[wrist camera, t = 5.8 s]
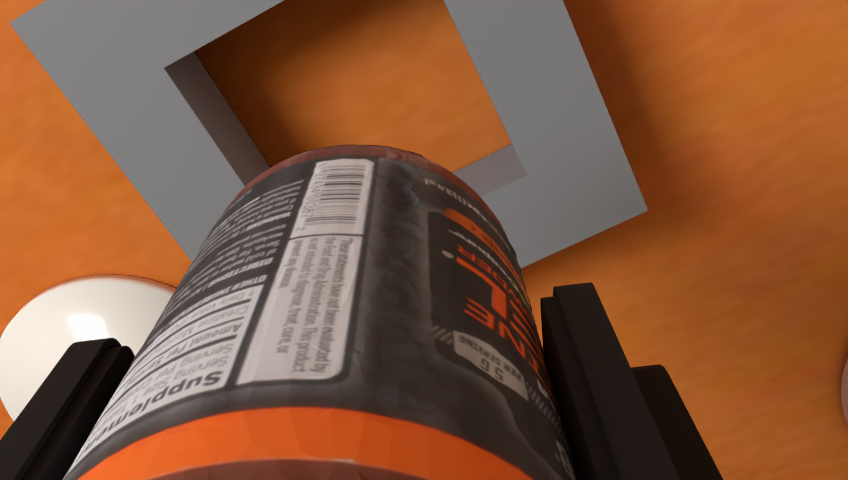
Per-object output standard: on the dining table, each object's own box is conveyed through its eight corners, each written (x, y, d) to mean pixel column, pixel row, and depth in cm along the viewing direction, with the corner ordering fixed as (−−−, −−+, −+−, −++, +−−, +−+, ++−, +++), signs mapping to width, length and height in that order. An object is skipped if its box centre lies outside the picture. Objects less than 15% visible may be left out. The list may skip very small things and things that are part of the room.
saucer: (301, 418, 31) (299, 427, 30) (109, 502, 32) (104, 512, 32) (157, 232, 26) (151, 239, 26) (-54, 340, 28) (-62, 349, 28)
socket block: (622, 175, 26) (648, 210, 23) (291, 330, 29) (280, 377, 26) (452, -235, 20) (461, -251, 18) (54, 5, 23) (9, 22, 20)
